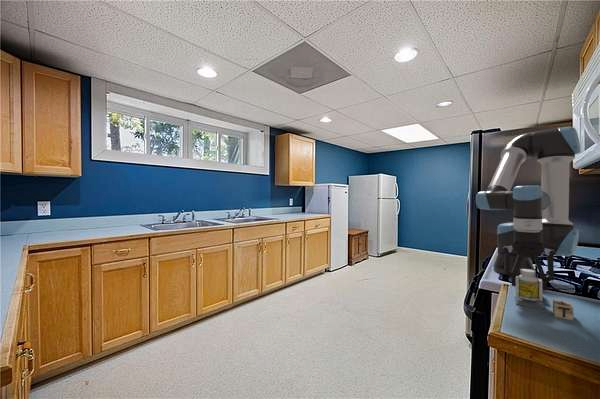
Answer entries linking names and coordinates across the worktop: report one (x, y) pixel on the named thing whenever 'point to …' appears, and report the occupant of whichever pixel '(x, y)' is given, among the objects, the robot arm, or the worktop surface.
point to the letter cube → (563, 309)
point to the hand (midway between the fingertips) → (528, 297)
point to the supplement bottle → (528, 285)
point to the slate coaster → (529, 303)
